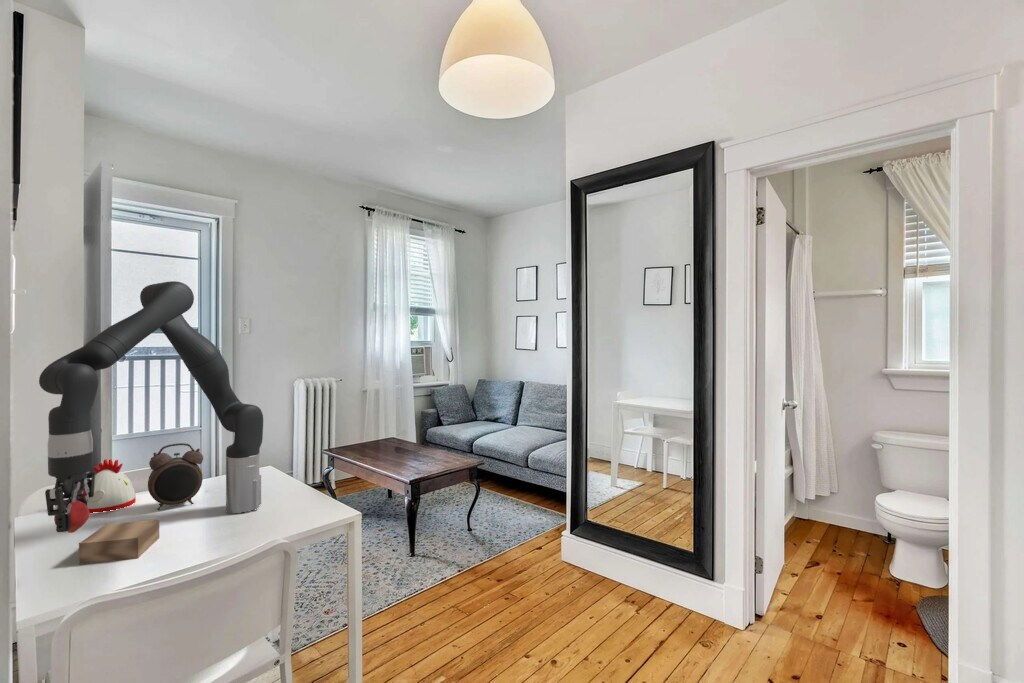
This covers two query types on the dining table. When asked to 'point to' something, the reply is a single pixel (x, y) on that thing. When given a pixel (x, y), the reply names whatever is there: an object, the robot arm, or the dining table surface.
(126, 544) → the walnut base
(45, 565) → the dining table surface
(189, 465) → the alarm clock
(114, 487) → the kitchen timer
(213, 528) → the dining table surface
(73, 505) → the onion
